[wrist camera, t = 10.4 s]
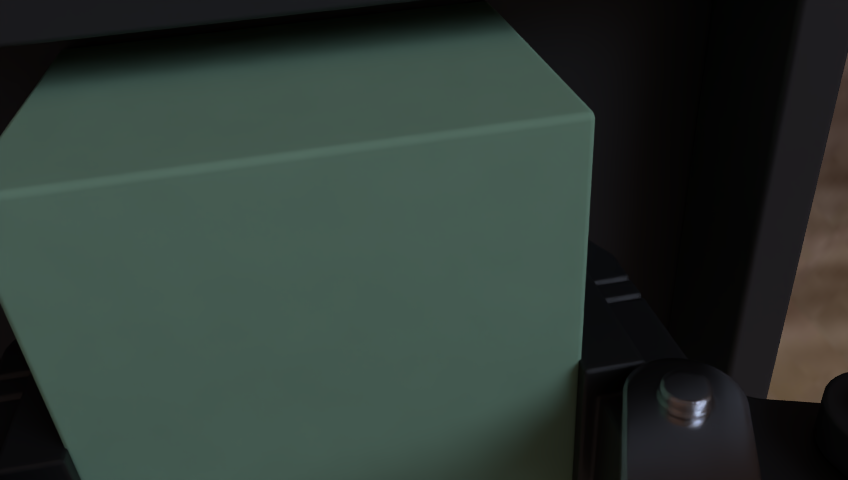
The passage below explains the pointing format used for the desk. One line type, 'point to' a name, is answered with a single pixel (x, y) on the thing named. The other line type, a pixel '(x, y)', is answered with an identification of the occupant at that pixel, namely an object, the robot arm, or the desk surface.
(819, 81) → the tray
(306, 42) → the sage pad
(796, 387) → the desk surface
